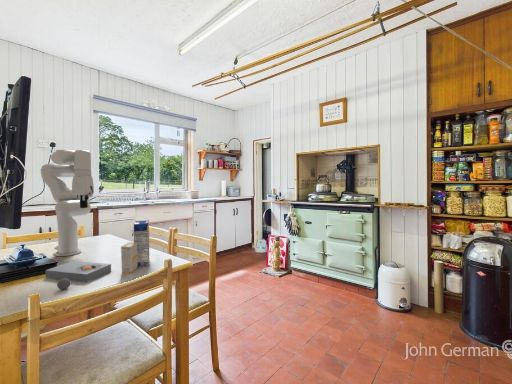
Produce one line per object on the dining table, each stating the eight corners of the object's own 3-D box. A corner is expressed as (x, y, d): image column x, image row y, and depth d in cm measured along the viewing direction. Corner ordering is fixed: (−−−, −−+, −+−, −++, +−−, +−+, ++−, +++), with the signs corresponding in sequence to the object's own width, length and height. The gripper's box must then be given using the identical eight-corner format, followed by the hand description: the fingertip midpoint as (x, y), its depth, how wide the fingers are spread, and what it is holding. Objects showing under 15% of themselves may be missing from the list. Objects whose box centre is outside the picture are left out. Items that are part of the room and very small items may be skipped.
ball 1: (54, 290, 105) (54, 280, 105) (64, 286, 110) (64, 276, 109) (63, 291, 104) (63, 281, 104) (73, 287, 109) (73, 277, 108)
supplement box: (128, 267, 133) (127, 242, 132) (137, 267, 133) (137, 242, 133) (121, 273, 125) (120, 246, 124) (131, 273, 125) (131, 246, 124)
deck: (45, 277, 119) (45, 270, 119) (73, 267, 132) (73, 260, 132) (86, 282, 114) (86, 274, 114) (111, 271, 128) (110, 264, 128)
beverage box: (134, 267, 134) (133, 224, 132) (135, 261, 144) (135, 220, 143) (148, 265, 136) (148, 223, 135) (149, 259, 146) (148, 220, 145)
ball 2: (80, 265, 120) (88, 270, 119) (89, 262, 124) (96, 267, 124) (77, 273, 121) (84, 278, 120) (85, 270, 125) (92, 275, 124)
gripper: (64, 173, 138) (65, 208, 139) (88, 173, 135) (89, 209, 136) (77, 173, 146) (78, 206, 147) (100, 173, 143) (101, 207, 143)
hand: (83, 207), depth 141 cm, fingers closed
